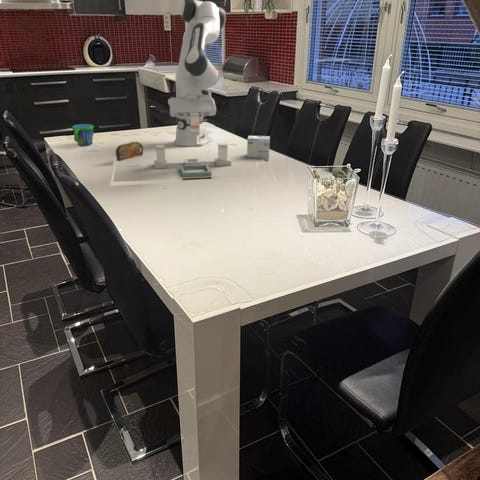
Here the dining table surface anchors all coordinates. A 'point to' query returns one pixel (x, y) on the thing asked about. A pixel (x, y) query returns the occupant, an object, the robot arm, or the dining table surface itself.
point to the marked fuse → (194, 124)
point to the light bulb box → (258, 147)
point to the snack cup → (83, 134)
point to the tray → (190, 174)
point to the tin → (129, 150)
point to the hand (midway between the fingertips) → (194, 123)
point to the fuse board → (191, 163)
